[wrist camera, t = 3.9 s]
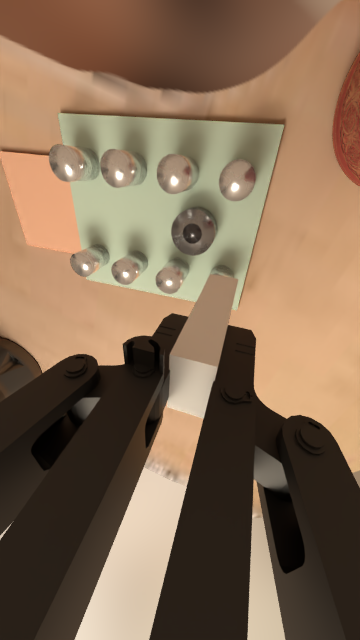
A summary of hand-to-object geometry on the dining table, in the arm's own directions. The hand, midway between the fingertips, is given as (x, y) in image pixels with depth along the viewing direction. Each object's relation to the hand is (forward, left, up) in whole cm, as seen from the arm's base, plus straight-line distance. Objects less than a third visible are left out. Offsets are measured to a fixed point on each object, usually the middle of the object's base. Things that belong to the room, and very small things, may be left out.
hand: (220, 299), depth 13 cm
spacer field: (-10, 0, -18) cm, 20 cm away
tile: (-27, 0, -18) cm, 32 cm away
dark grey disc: (-5, 0, -17) cm, 18 cm away
